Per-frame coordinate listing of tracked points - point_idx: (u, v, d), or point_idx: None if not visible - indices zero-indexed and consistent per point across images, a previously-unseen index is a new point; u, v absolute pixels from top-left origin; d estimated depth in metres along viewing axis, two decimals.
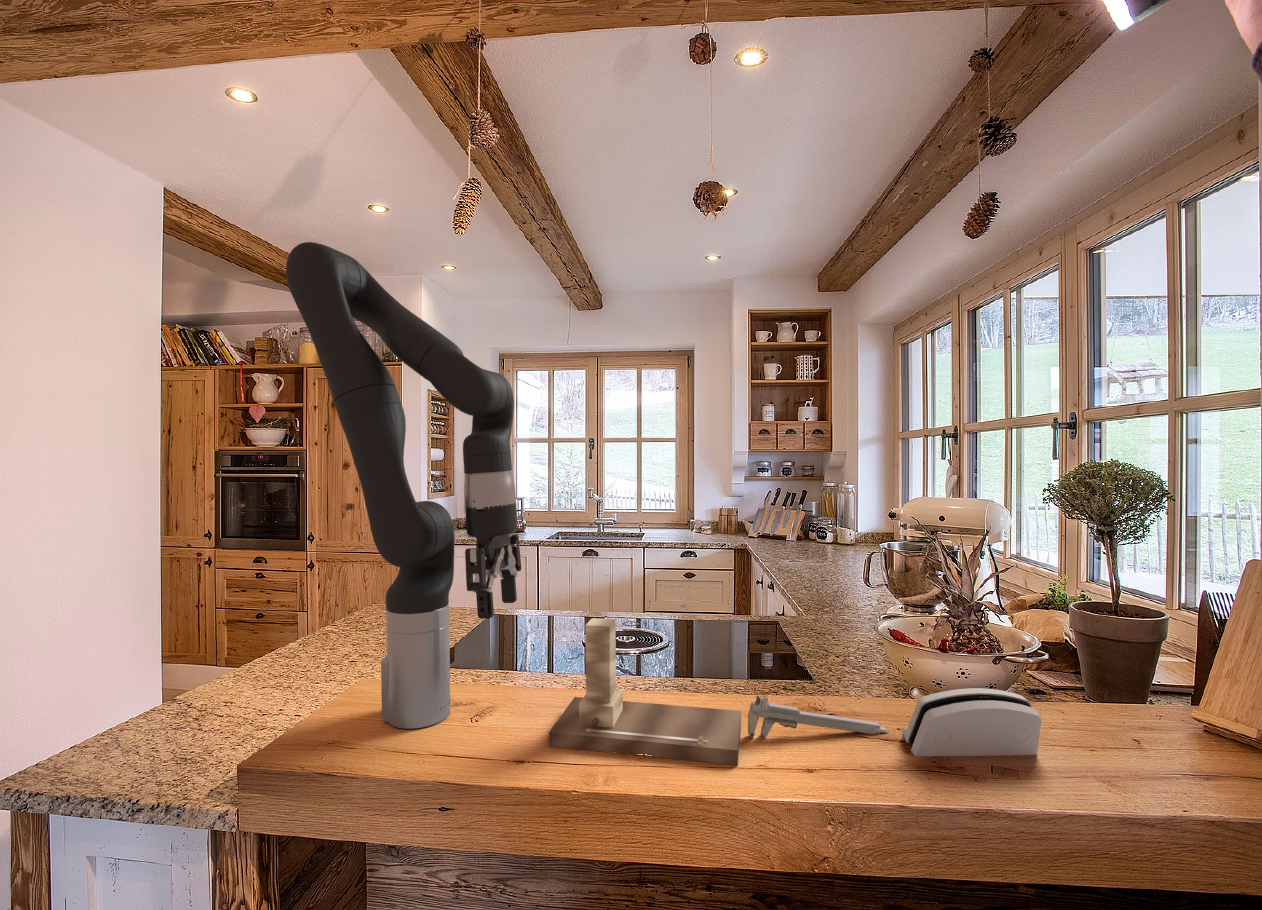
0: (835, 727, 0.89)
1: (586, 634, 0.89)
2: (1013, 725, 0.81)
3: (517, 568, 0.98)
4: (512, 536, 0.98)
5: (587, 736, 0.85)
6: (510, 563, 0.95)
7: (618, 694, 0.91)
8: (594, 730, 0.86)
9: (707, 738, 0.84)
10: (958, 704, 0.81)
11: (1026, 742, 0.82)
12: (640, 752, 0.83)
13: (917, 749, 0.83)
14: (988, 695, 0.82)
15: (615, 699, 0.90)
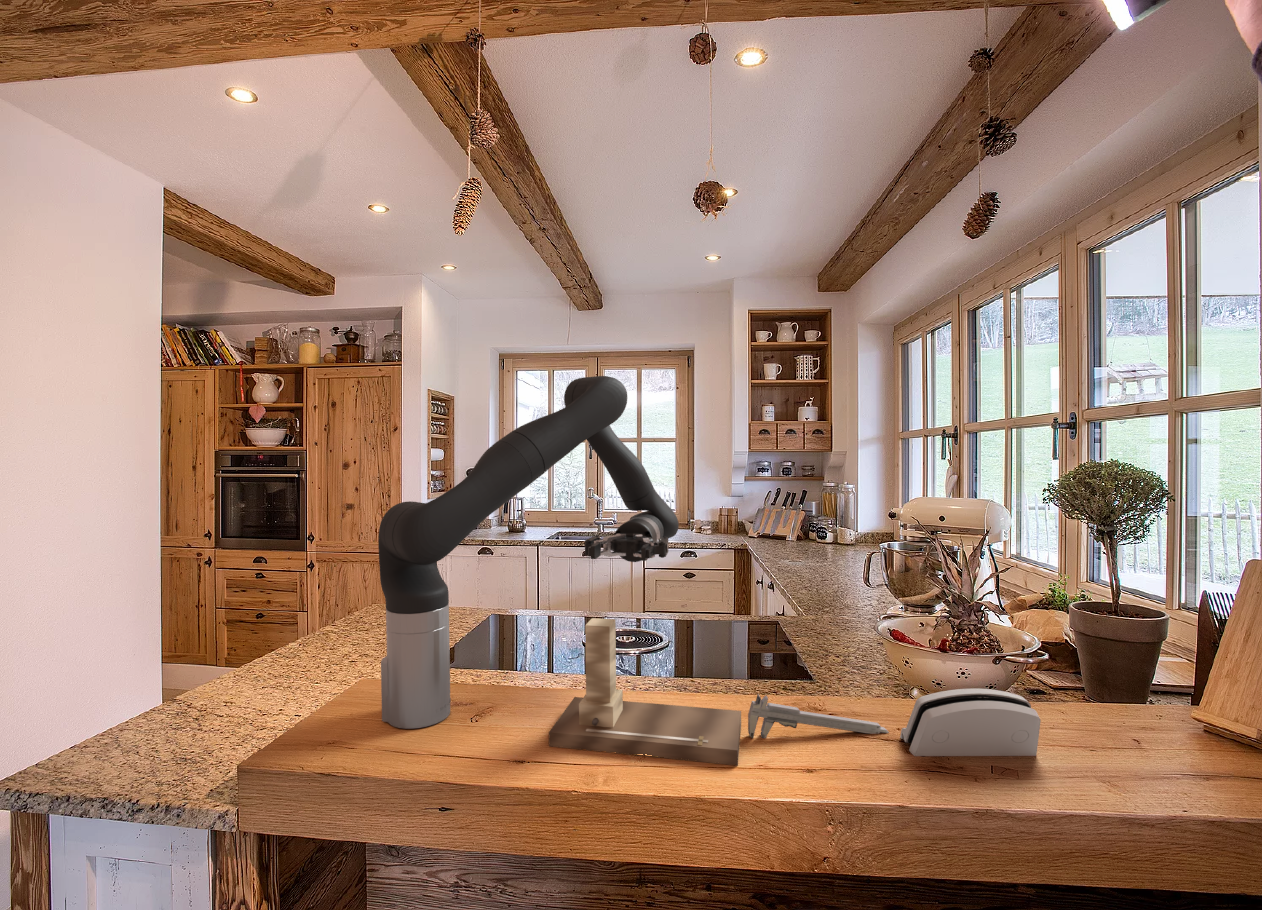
0: (835, 727, 0.89)
1: (586, 634, 0.89)
2: (1012, 725, 0.81)
3: None
4: None
5: (587, 736, 0.85)
6: (613, 554, 1.08)
7: (618, 694, 0.91)
8: (594, 730, 0.86)
9: (707, 738, 0.84)
10: (957, 704, 0.81)
11: (1025, 743, 0.82)
12: (640, 752, 0.83)
13: (915, 749, 0.83)
14: (987, 695, 0.82)
15: (615, 699, 0.90)
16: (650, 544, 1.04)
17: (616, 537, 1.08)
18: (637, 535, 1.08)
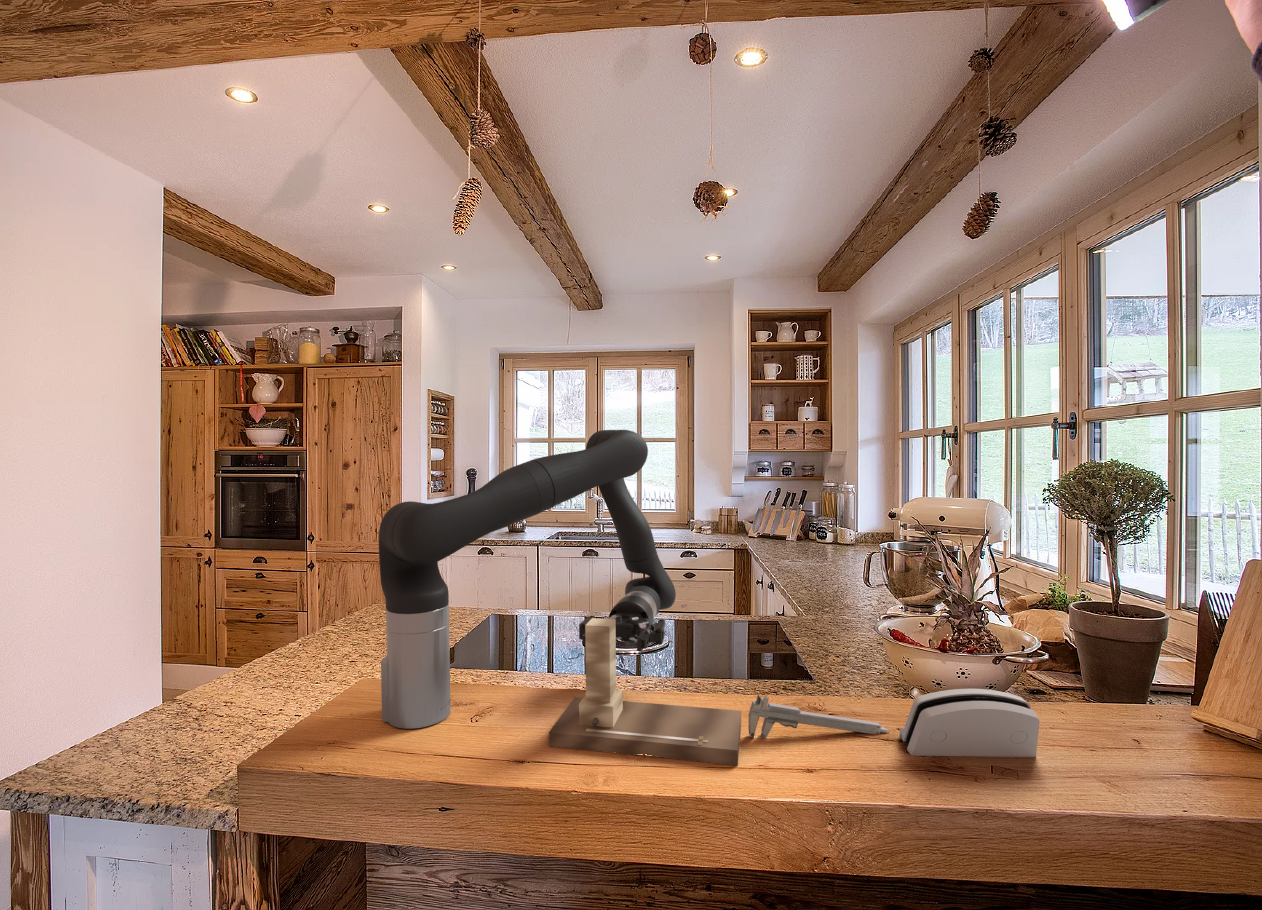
0: (836, 727, 0.89)
1: (586, 634, 0.89)
2: (1010, 726, 0.81)
3: None
4: None
5: (587, 736, 0.85)
6: None
7: (618, 694, 0.91)
8: (594, 730, 0.86)
9: (707, 738, 0.84)
10: (954, 704, 0.81)
11: (1024, 744, 0.82)
12: (640, 752, 0.83)
13: (913, 748, 0.83)
14: (985, 696, 0.82)
15: (615, 699, 0.90)
16: (646, 631, 1.01)
17: None
18: (633, 618, 1.05)
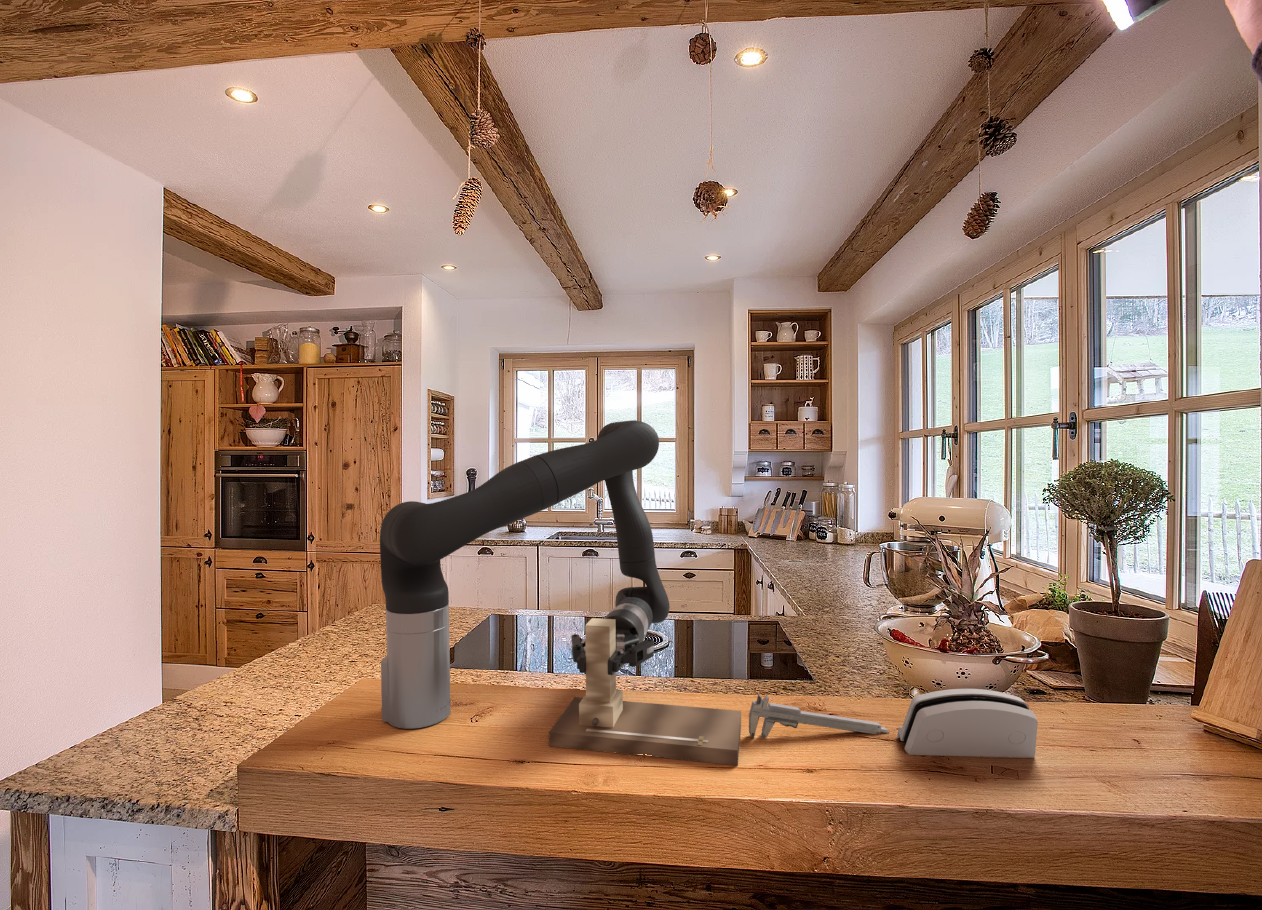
0: (836, 727, 0.89)
1: (586, 634, 0.89)
2: (1008, 726, 0.80)
3: None
4: None
5: (587, 736, 0.85)
6: None
7: (618, 694, 0.91)
8: (594, 730, 0.86)
9: (707, 738, 0.84)
10: (951, 703, 0.81)
11: (1022, 745, 0.81)
12: (640, 752, 0.83)
13: (910, 747, 0.83)
14: (983, 696, 0.82)
15: (615, 699, 0.90)
16: (619, 652, 0.91)
17: None
18: (618, 635, 0.96)
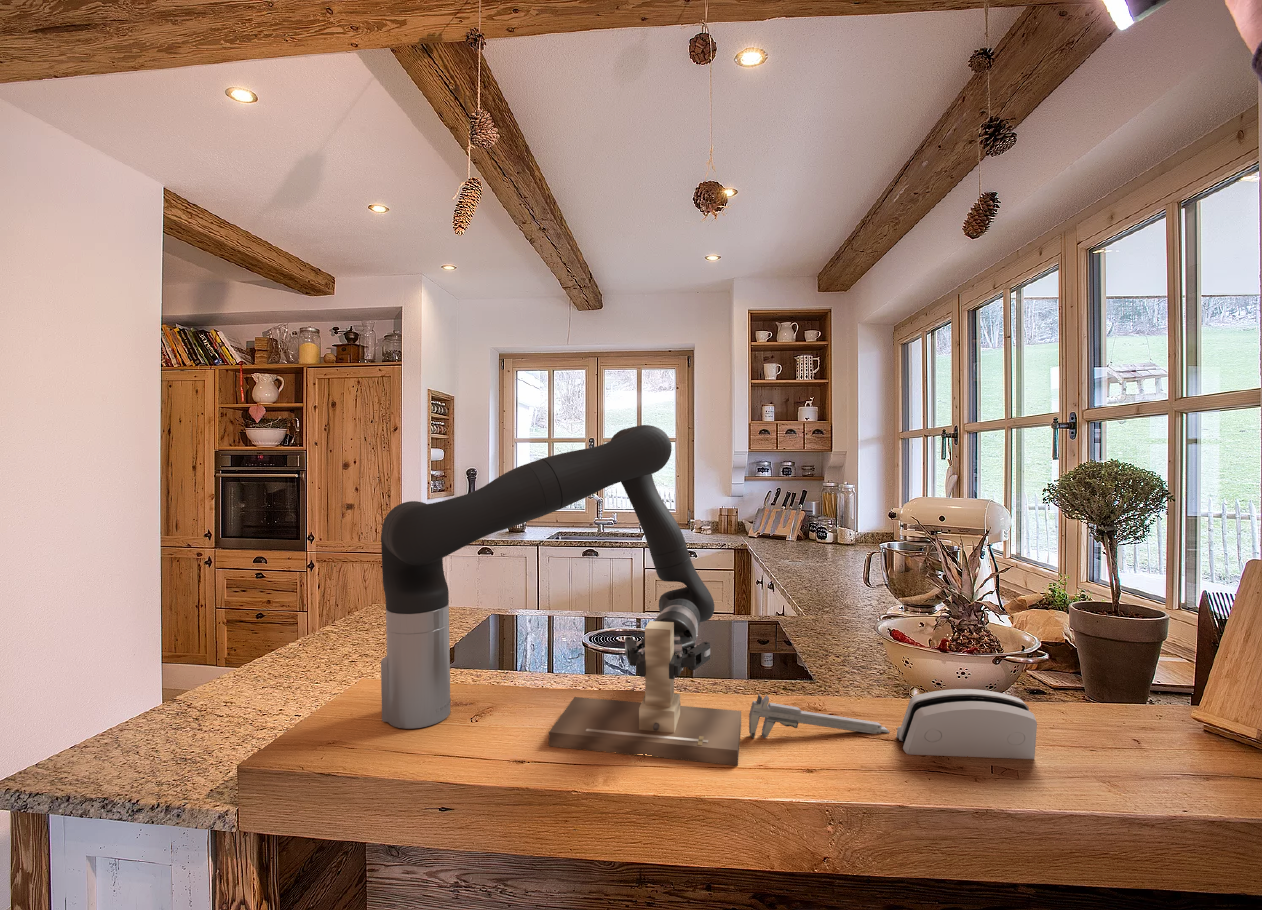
0: (836, 727, 0.89)
1: (646, 637, 0.87)
2: (1007, 727, 0.80)
3: None
4: None
5: (587, 736, 0.85)
6: None
7: (676, 698, 0.90)
8: (594, 730, 0.86)
9: (707, 738, 0.84)
10: (949, 703, 0.81)
11: (1022, 746, 0.81)
12: (640, 752, 0.83)
13: (908, 747, 0.83)
14: (982, 696, 0.82)
15: (675, 703, 0.88)
16: (678, 655, 0.89)
17: None
18: (674, 638, 0.94)
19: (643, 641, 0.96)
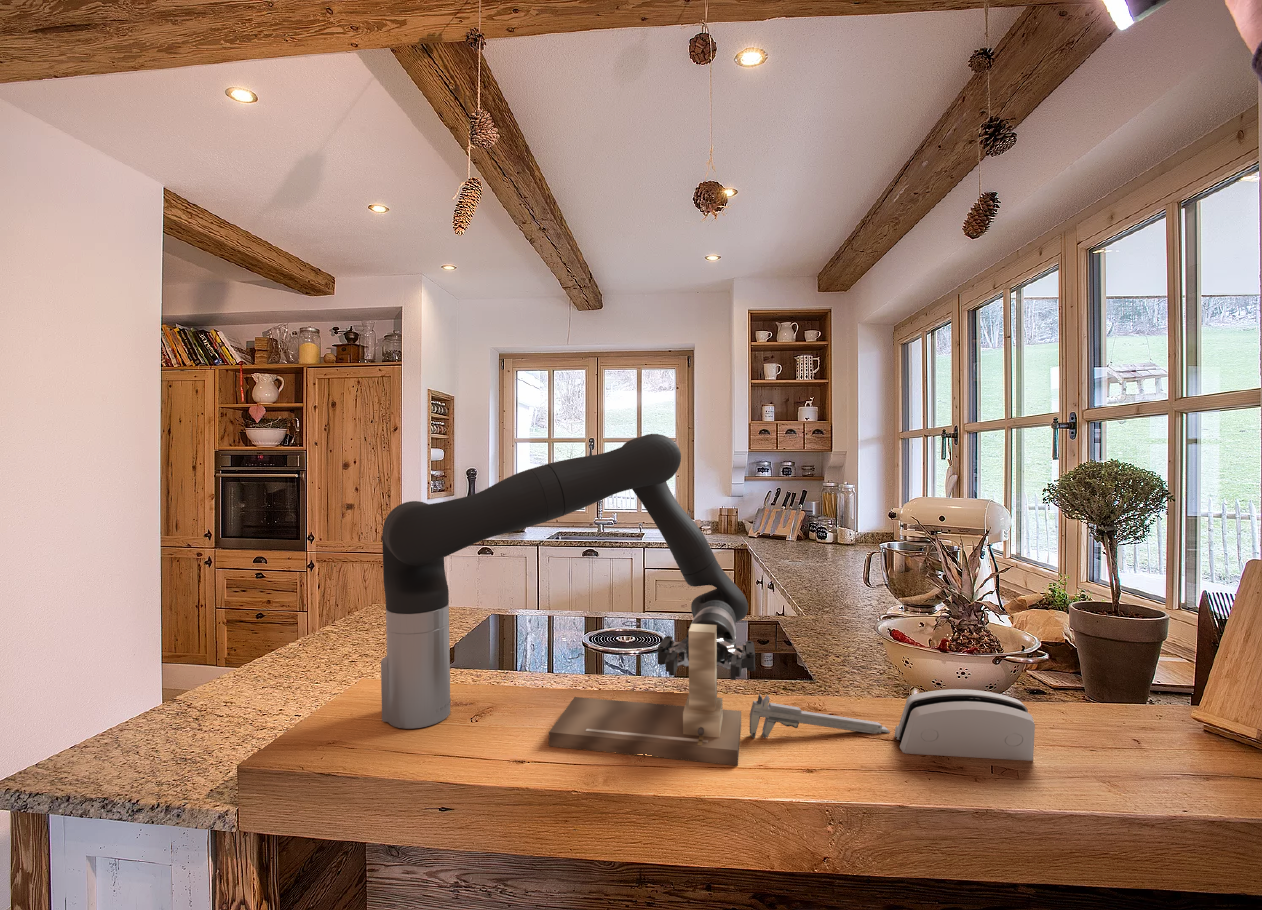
0: (837, 727, 0.89)
1: (689, 640, 0.86)
2: (1004, 728, 0.80)
3: None
4: None
5: (587, 736, 0.85)
6: None
7: (720, 702, 0.88)
8: (594, 730, 0.86)
9: (707, 738, 0.84)
10: (945, 703, 0.81)
11: (1020, 747, 0.81)
12: (640, 752, 0.83)
13: (904, 746, 0.83)
14: (979, 697, 0.81)
15: (719, 708, 0.86)
16: (737, 656, 0.88)
17: None
18: (718, 640, 0.93)
19: (681, 642, 0.95)
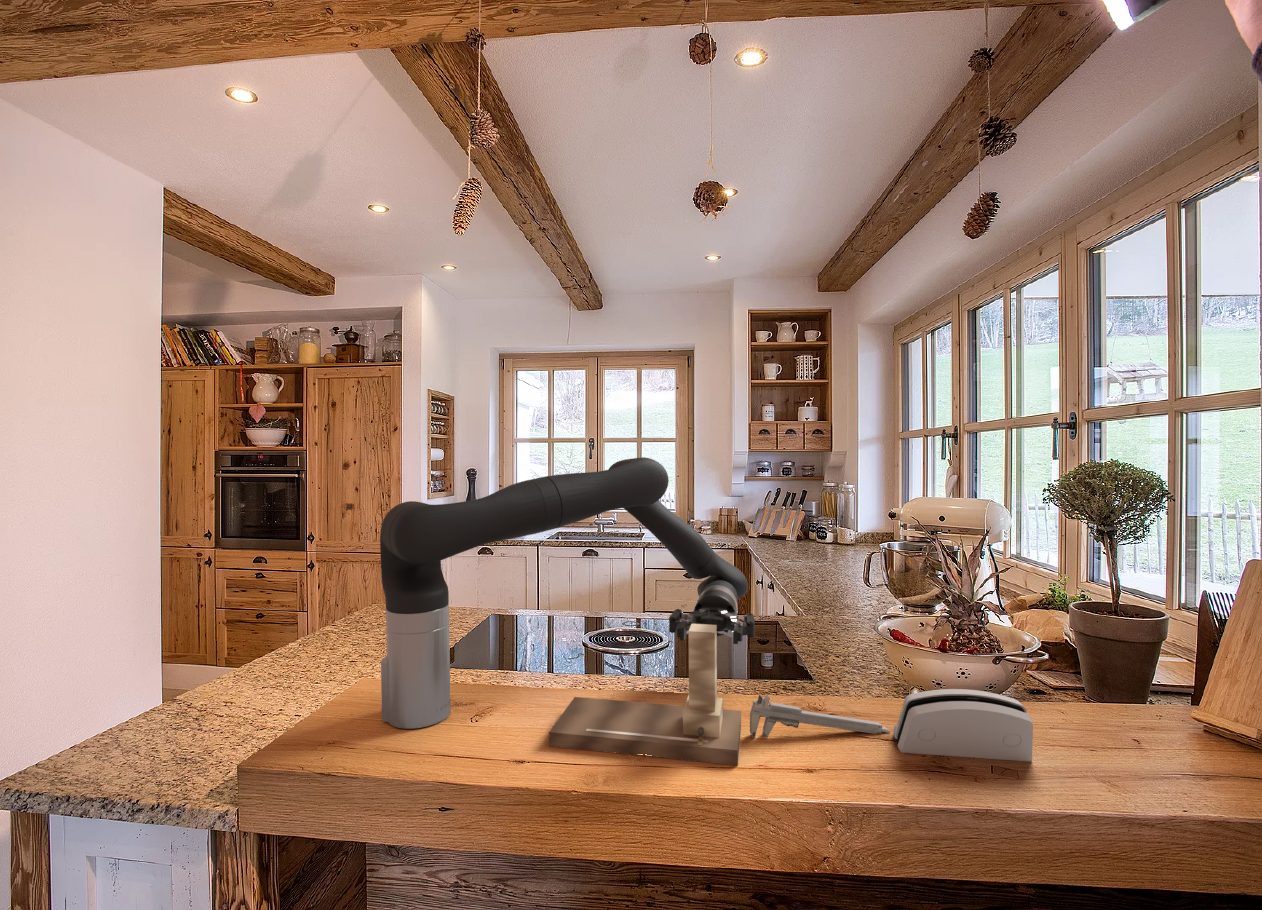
0: (837, 727, 0.89)
1: (689, 640, 0.86)
2: (1002, 728, 0.80)
3: (676, 630, 1.04)
4: None
5: (587, 736, 0.85)
6: None
7: (720, 702, 0.88)
8: (594, 730, 0.86)
9: (707, 738, 0.84)
10: (943, 703, 0.81)
11: (1018, 748, 0.81)
12: (640, 752, 0.83)
13: (902, 745, 0.84)
14: (977, 697, 0.81)
15: (719, 708, 0.86)
16: (739, 624, 1.01)
17: (700, 614, 1.06)
18: (722, 612, 1.06)
19: None
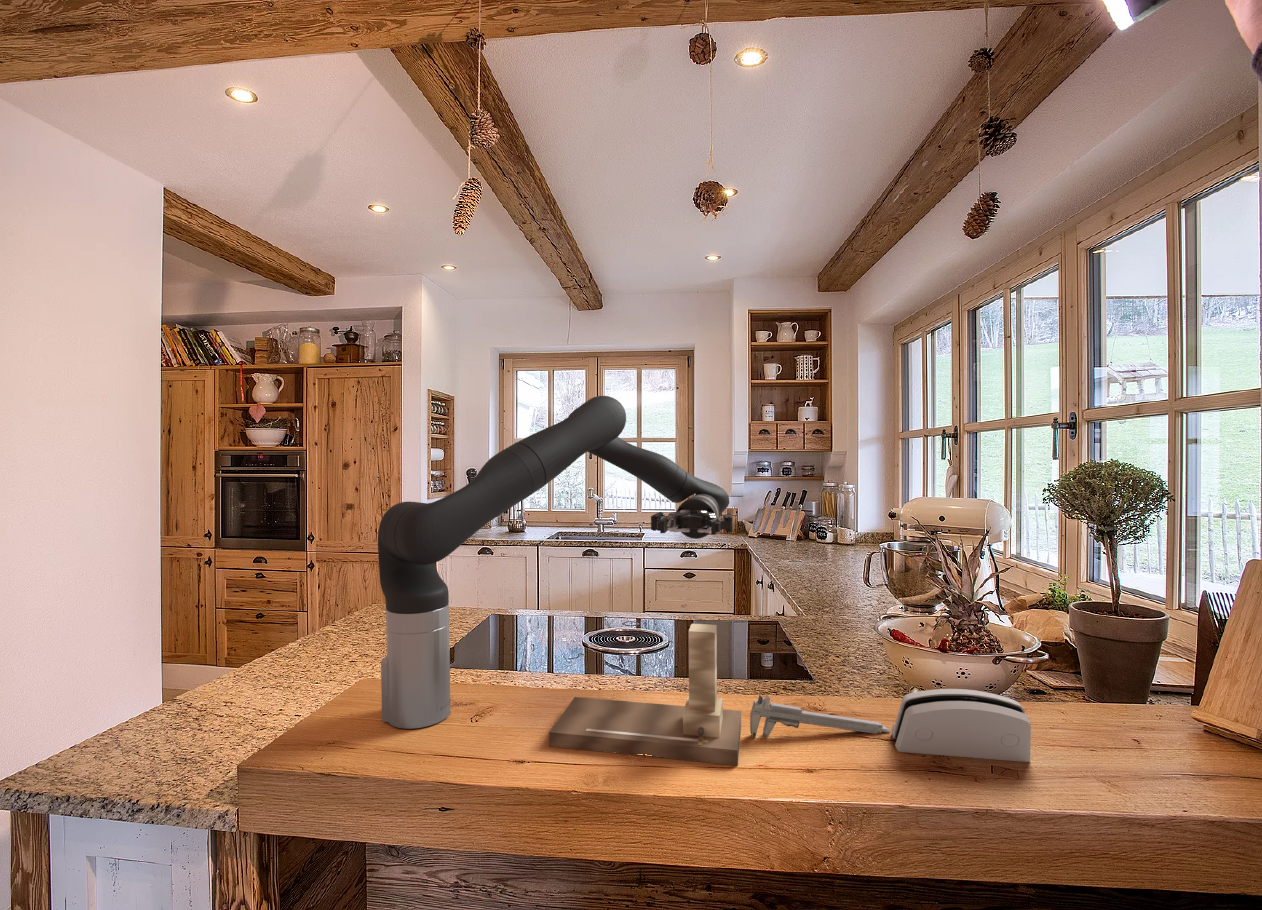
0: (837, 727, 0.89)
1: (689, 640, 0.86)
2: (999, 728, 0.80)
3: None
4: None
5: (587, 736, 0.85)
6: (678, 530, 1.09)
7: (720, 702, 0.88)
8: (594, 730, 0.86)
9: (707, 738, 0.84)
10: (940, 702, 0.81)
11: (1016, 748, 0.81)
12: (640, 752, 0.83)
13: (899, 744, 0.84)
14: (975, 697, 0.81)
15: (719, 708, 0.86)
16: (718, 519, 1.05)
17: (681, 513, 1.10)
18: (702, 511, 1.10)
19: None
